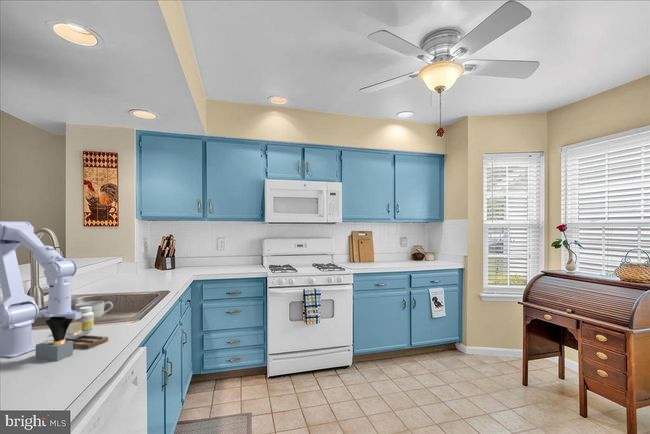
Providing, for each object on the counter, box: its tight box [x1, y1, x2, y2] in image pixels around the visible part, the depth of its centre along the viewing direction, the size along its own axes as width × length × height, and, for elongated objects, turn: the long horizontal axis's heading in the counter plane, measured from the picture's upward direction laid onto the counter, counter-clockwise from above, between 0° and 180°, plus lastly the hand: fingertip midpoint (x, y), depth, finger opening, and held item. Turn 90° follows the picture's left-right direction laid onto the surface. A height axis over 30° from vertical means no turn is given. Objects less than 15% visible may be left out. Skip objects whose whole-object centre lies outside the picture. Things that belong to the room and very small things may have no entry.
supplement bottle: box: [76, 306, 95, 333], centre depth 128 cm, size 5×5×10 cm
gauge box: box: [35, 338, 74, 362], centre depth 104 cm, size 8×5×5 cm, turn 79°
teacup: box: [74, 300, 114, 321], centre depth 144 cm, size 14×11×8 cm
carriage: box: [65, 321, 90, 339], centre depth 116 cm, size 6×6×4 cm
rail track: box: [64, 334, 109, 350], centre depth 115 cm, size 14×8×2 cm, turn 79°
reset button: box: [53, 339, 65, 346], centre depth 103 cm, size 3×3×5 cm
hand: (59, 340), depth 103 cm, fingers closed, pressing on reset button
